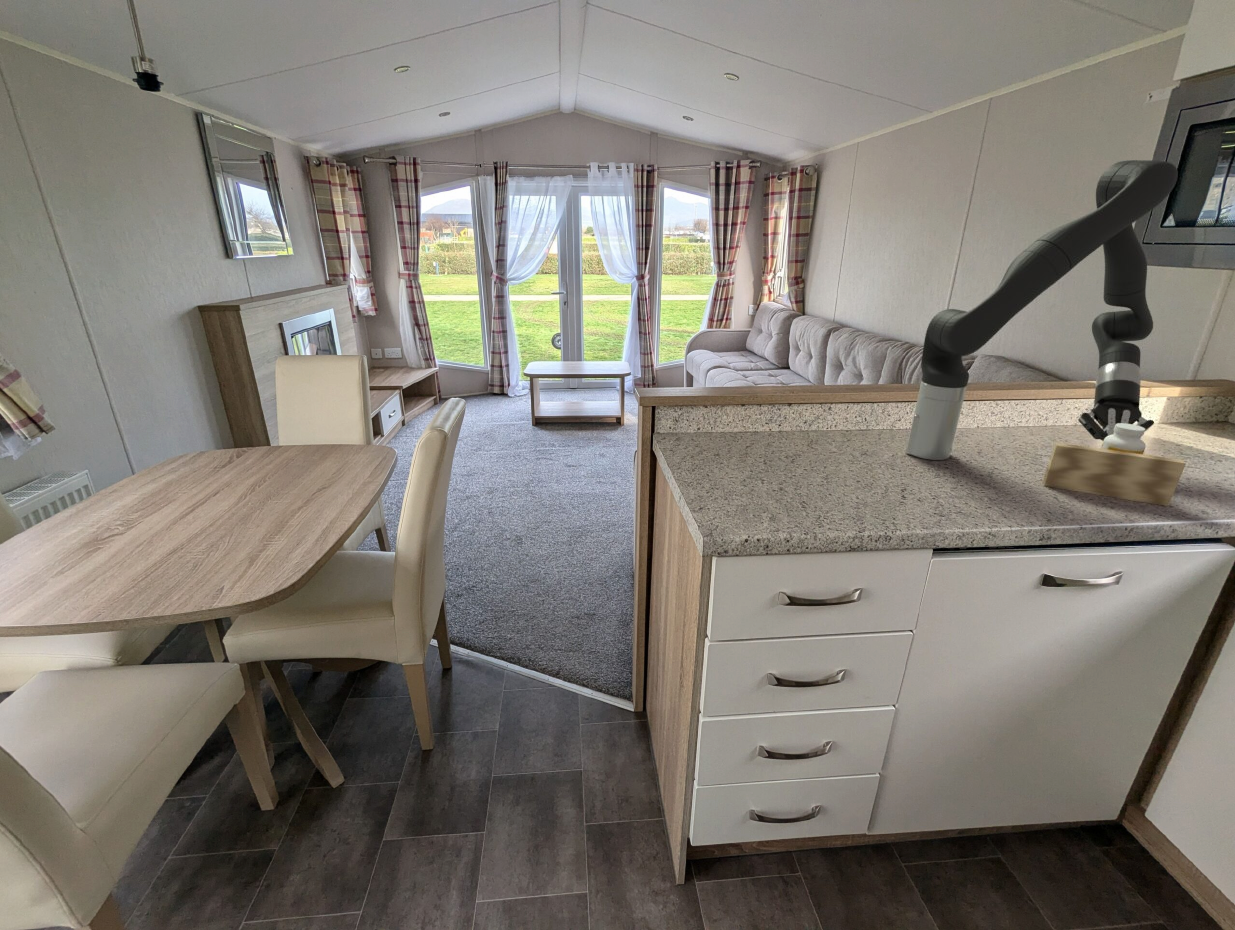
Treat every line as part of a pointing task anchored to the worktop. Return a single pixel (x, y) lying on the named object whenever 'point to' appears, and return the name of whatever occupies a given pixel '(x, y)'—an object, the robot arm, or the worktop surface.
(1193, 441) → the worktop surface
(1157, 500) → the wall board
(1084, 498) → the worktop surface
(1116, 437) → the supplement bottle
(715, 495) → the worktop surface
